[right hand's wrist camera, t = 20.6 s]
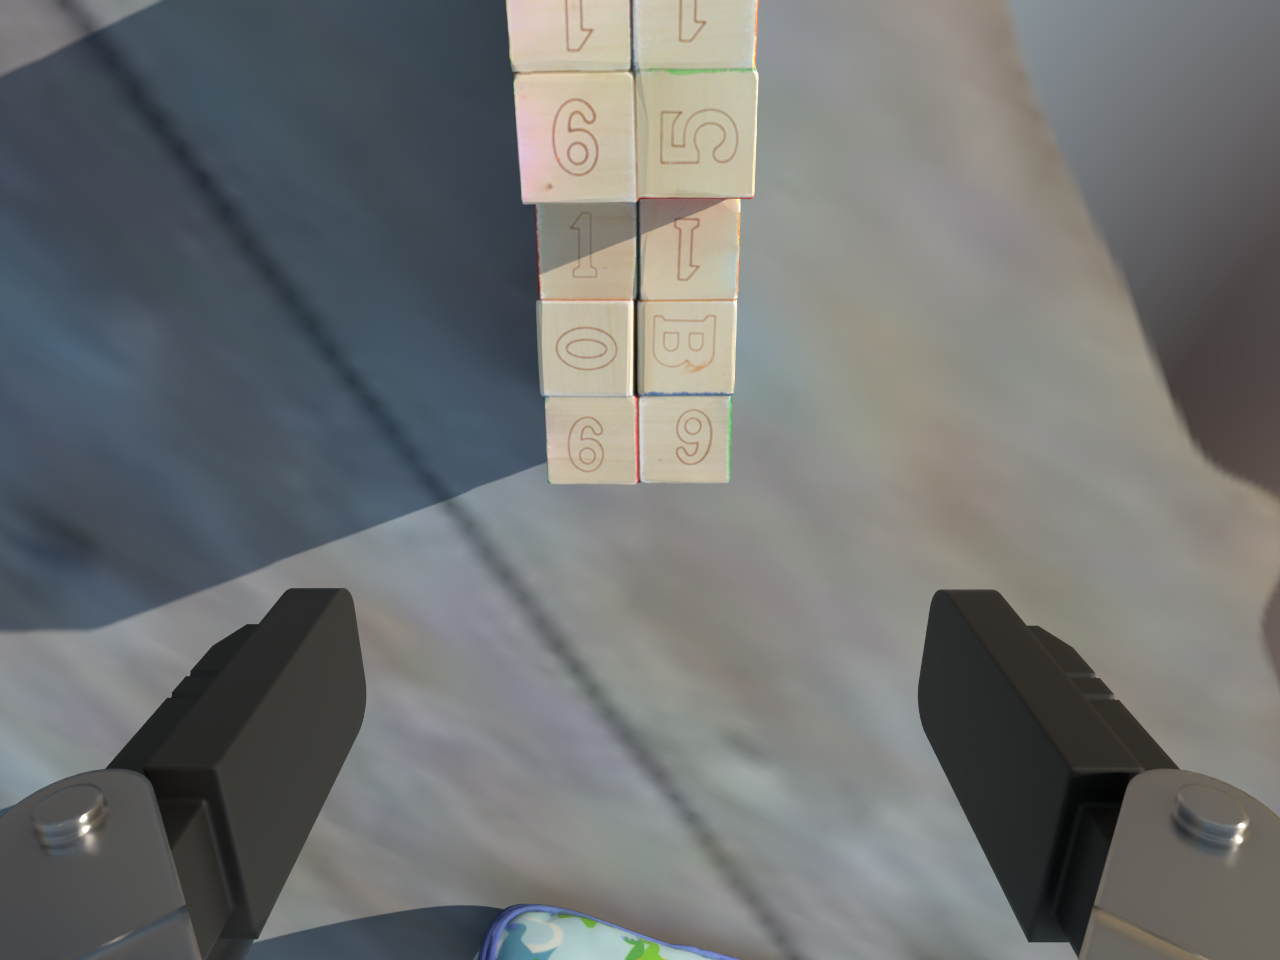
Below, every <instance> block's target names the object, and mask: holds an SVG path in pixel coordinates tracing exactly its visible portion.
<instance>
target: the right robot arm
mask: <svg viewBox="0 0 1280 960" xmlns="http://www.w3.org/2000/svg"><path fill="white" fill-rule="evenodd" d="M365 706H366V682H365V675H364V668H363V661H362V655H361V648H360V641H359V635H358V628H357V621H356V614H355V608H354V602H353V599H352V596H351V594H350V592H349V591H348V590H347V589H345V588H291V589H288V590H287V591H286V592H285V593H284V594H283V595H282V596H281V597H280V599H279V600H278V601H277V602H276V603H275V605H274V606H273V607H272V608H271V610H270V611H269V612H268V613H267V615H266V616H265V617H264V618H263V619H262V621H261V622H260V623H259V624H247V625H245V626H243V627H242V628H240V629H239V630H237V631H236V632H234V633H232V634H231V635H229V636H228V637H226V638H224V639H223V640H221V641H220V642H218V643H216V644H215V645H213V646H212V647H211V648H210V650H209V651H208V652H207V653H206V654H205V655H204V656H203V658H202V659H201V660H200V661H199V662H198V663H197V664H196V666H195V667H194V668H193V669H192V670H191V674H190V676H186V677H185V678H184V679H183V680H182V682H181V683H180V684H179V685H178V686H177V687H176V688H175V690H174V691H173V692H172V697H171V698H167V699H166V700H165V701H164V702H163V703H162V704H161V706H160V707H159V708H158V709H157V710H156V711H155V713H154V714H153V715H152V716H151V717H150V718H149V719H148V721H147V722H146V723H145V724H144V725H143V726H142V727H141V729H140V730H139V731H138V732H137V733H136V734H135V735H134V737H133V738H132V739H131V740H130V741H129V742H128V743H127V745H126V746H125V747H124V748H123V749H122V750H121V751H120V753H119V754H118V755H117V756H116V757H115V758H114V759H113V761H112V762H111V763H110V764H109V765H108V766H107V767H106V769H102V770H94V771H89V772H85V773H81V774H77V775H74V776H71V777H68V778H65V779H62V780H60V781H57V782H55V783H52V784H50V785H48V786H46V787H44V788H42V789H40V790H38V791H36V792H35V793H33V794H31V795H30V796H28V797H26V798H25V799H23V800H22V801H20V802H19V803H18V804H16V805H15V806H13V807H12V808H11V809H10V810H9V811H7V812H6V813H5V814H4V815H3V816H2V817H1V818H0V960H244V959H245V957H246V955H247V953H248V951H249V949H250V947H251V945H252V943H253V941H254V939H258V937H259V935H260V933H261V931H262V929H263V927H264V925H265V923H266V921H267V919H268V917H269V915H270V913H271V911H272V909H273V907H274V905H275V903H276V901H277V899H278V897H279V894H280V892H281V890H282V888H283V886H284V884H285V882H286V880H287V878H288V876H289V874H290V872H291V870H292V868H293V866H294V864H295V862H296V860H297V858H298V856H299V854H300V851H301V849H302V847H303V845H304V843H305V841H306V839H307V837H308V835H309V833H310V831H311V829H312V827H313V825H314V823H315V821H316V819H317V817H318V815H319V813H320V811H321V808H322V806H323V804H324V802H325V800H326V798H327V796H328V794H329V792H330V790H331V788H332V786H333V784H334V782H335V780H336V778H337V776H338V774H339V772H340V770H341V768H342V766H343V763H344V761H345V759H346V757H347V755H348V753H349V751H350V749H351V747H352V745H353V743H354V741H355V739H356V737H357V735H358V733H359V730H360V728H361V725H362V722H363V718H364V713H365ZM918 706H919V713H920V718H921V722H922V726H923V729H924V731H925V734H926V736H927V738H928V740H929V742H930V744H931V746H932V748H933V750H934V752H935V754H936V756H937V758H938V760H939V762H940V764H941V766H942V768H943V770H944V772H945V774H946V776H947V778H948V780H949V782H950V784H951V786H952V788H953V790H954V792H955V795H956V797H957V799H958V801H959V803H960V805H961V807H962V809H963V811H964V813H965V815H966V817H967V819H968V821H969V823H970V825H971V827H972V829H973V831H974V833H975V835H976V837H977V839H978V841H979V843H980V845H981V847H982V849H983V851H984V853H985V855H986V857H987V859H988V861H989V863H990V865H991V867H992V869H993V871H994V873H995V875H996V877H997V879H998V881H999V883H1000V886H1001V888H1002V890H1003V892H1004V894H1005V896H1006V898H1007V900H1008V902H1009V904H1010V906H1011V908H1012V910H1013V912H1014V914H1015V916H1016V918H1017V920H1018V922H1019V924H1020V926H1021V928H1022V930H1023V932H1024V934H1025V936H1026V938H1027V940H1028V942H1070V944H1071V946H1072V948H1073V950H1074V952H1075V953H1076V955H1077V957H1078V960H1280V818H1279V817H1278V816H1277V815H1276V814H1275V813H1274V812H1273V811H1271V810H1270V809H1269V808H1268V807H1267V806H1265V805H1264V804H1262V803H1261V802H1260V801H1258V800H1257V799H1255V798H1254V797H1252V796H1250V795H1249V794H1247V793H1245V792H1244V791H1242V790H1240V789H1238V788H1236V787H1234V786H1232V785H1230V784H1228V783H1225V782H1223V781H1220V780H1218V779H1215V778H1212V777H1209V776H1206V775H1203V774H1199V773H1195V772H1191V771H1186V770H1180V769H1179V768H1178V767H1177V765H1176V764H1175V763H1174V762H1173V761H1172V760H1171V759H1170V757H1169V756H1168V755H1167V754H1166V753H1165V752H1164V751H1163V750H1162V748H1161V747H1160V746H1159V745H1158V744H1157V743H1156V742H1155V740H1154V739H1153V738H1152V737H1151V736H1150V735H1149V734H1148V732H1147V731H1146V730H1145V729H1144V728H1143V727H1142V726H1141V725H1140V723H1139V722H1138V721H1137V720H1136V719H1135V718H1134V717H1133V715H1132V714H1131V713H1130V712H1129V711H1128V710H1127V709H1126V708H1125V706H1124V705H1123V704H1122V703H1121V702H1120V701H1119V700H1115V699H1114V694H1113V693H1112V692H1111V690H1110V689H1109V688H1108V687H1107V686H1106V685H1105V684H1104V683H1103V681H1102V680H1101V679H1100V678H1096V677H1095V672H1094V671H1093V670H1092V669H1091V668H1090V667H1089V666H1088V664H1087V663H1086V662H1085V661H1084V660H1083V659H1082V658H1081V656H1080V655H1079V654H1078V653H1077V652H1076V651H1075V650H1074V648H1073V647H1071V646H1069V645H1068V644H1066V643H1065V642H1063V641H1061V640H1060V639H1058V638H1057V637H1055V636H1053V635H1052V634H1050V633H1049V632H1047V631H1045V630H1044V629H1042V628H1041V627H1039V626H1026V624H1025V623H1024V622H1023V621H1022V619H1021V618H1020V617H1019V616H1018V615H1017V613H1016V612H1015V611H1014V610H1013V609H1012V607H1011V606H1010V605H1009V604H1008V602H1007V601H1006V600H1005V599H1004V598H1003V596H1002V595H1001V594H1000V593H999V592H998V591H996V590H938V591H937V592H936V593H935V594H934V596H933V598H932V602H931V606H930V612H929V618H928V625H927V631H926V638H925V645H924V651H923V658H922V664H921V671H920V678H919V685H918Z"/></svg>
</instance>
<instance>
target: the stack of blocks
mask: <svg viewBox="0 0 1280 960" xmlns="http://www.w3.org/2000/svg"><path fill="white" fill-rule="evenodd" d="M505 3H506V16H507V30H508V43H509V56H510V63H511V68H512V72H513V76H514V82H513V94H514V108H515V121H516V134H517V149H518V163H519V176H520V190H521V201H522V204H523V205H524V204H535V219H536V243H537V265H538V289H539V298H538V299H537V301H536V321H537V348H538V366H539V383H540V393H541V395H542V396H543V397H544V403H545V430H546V452H547V476H548V483H549V484H627V485H634V484H636V483H639V482H643V483H728V482H729V480H730V458H731V429H732V394H733V392H734V379H735V349H736V321H737V294H738V277H739V238H740V199H751V198H753V197H754V185H755V158H756V127H757V97H758V73H757V70H756V67H755V59H756V41H757V18H758V0H505Z"/></svg>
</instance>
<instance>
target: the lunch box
mask: <svg viewBox="0 0 1280 960" xmlns="http://www.w3.org/2000/svg"><path fill="white" fill-rule="evenodd" d="M473 960H741V959H737V958H734V957H730V956H727V955H723V954H719V953H715V952H712V951H707V950H701V949H698V948H697V947H694V946H686V945H678V944H673V945H672V944H669V943H666V942H663V941H659V940H656V939H653V938H650V937H647V936H645V935H642V934H639V933H636V932H633V931H631V930H628V929H625V928H622V927H620V926H617V925H614V924H611V923H608V922H605V921H602V920H599V919H597V918H594V917H592V916H589V915H586V914H583V913H580V912H576V911H573V910H570V909H565V908H561V907H555V906H548V905H540V904H517V905H513V906H510V907H508V908H506V909H504V910H503V911H501V912H500V913H499V914H498V915H497V916H496V917H495V918H494V919H493V921H492V922H491V923H490V925H489V927H488V928H487V930H486V932H485V935H484V937H483V940H482V942H481V946H480V950H479V951H478V953H477V954H476V956H475V957H474V959H473Z"/></svg>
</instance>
